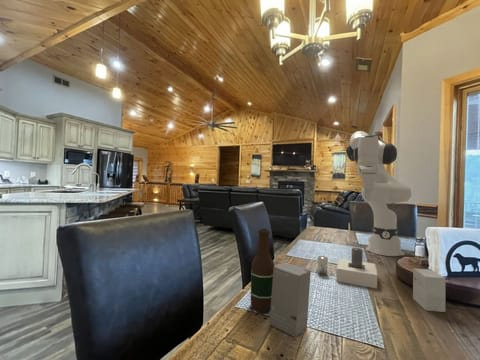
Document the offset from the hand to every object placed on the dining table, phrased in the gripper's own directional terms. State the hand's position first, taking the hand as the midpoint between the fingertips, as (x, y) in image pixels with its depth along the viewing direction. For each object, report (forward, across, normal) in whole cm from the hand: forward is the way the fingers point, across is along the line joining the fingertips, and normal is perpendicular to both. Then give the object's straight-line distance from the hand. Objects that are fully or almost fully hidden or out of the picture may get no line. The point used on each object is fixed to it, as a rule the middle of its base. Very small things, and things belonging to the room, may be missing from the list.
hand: (367, 200), depth 113 cm
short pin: (+31, +17, -17) cm, 39 cm away
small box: (+31, +29, +17) cm, 46 cm away
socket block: (+31, +16, -4) cm, 35 cm away
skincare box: (+31, +61, -20) cm, 71 cm away
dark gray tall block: (+31, +16, -4) cm, 35 cm away
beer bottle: (+31, +55, -30) cm, 70 cm away
